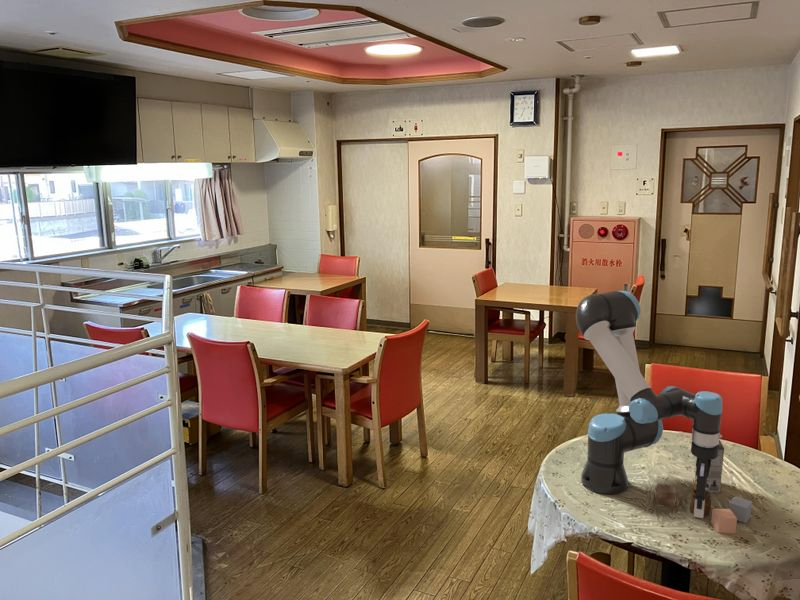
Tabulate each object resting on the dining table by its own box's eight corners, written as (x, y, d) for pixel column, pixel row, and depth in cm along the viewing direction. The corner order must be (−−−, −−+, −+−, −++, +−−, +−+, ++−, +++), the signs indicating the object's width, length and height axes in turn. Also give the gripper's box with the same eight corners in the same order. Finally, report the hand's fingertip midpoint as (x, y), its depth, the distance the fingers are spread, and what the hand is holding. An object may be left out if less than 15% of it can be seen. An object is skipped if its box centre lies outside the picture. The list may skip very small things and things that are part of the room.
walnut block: (657, 505, 209) (658, 491, 208) (656, 497, 214) (657, 483, 213) (674, 507, 208) (675, 493, 206) (673, 499, 212) (674, 485, 211)
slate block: (727, 517, 202) (729, 502, 201) (733, 510, 205) (734, 496, 204) (745, 523, 198) (747, 508, 197) (750, 516, 202) (752, 501, 201)
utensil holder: (714, 514, 203) (717, 479, 200) (700, 520, 200) (703, 484, 198) (698, 505, 208) (701, 471, 205) (684, 511, 205) (686, 475, 203)
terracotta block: (718, 533, 194) (719, 517, 193) (711, 523, 199) (712, 508, 197) (735, 533, 193) (737, 518, 192) (728, 523, 198) (729, 508, 197)
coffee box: (693, 478, 225) (697, 435, 222) (713, 479, 224) (717, 436, 220) (700, 492, 216) (704, 446, 213) (721, 493, 215) (725, 448, 211)
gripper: (717, 458, 189) (710, 530, 194) (720, 433, 205) (714, 500, 211) (688, 453, 193) (683, 524, 198) (694, 428, 209) (689, 494, 214)
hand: (699, 511), depth 204 cm, fingers closed on utensil holder, 6 cm apart
